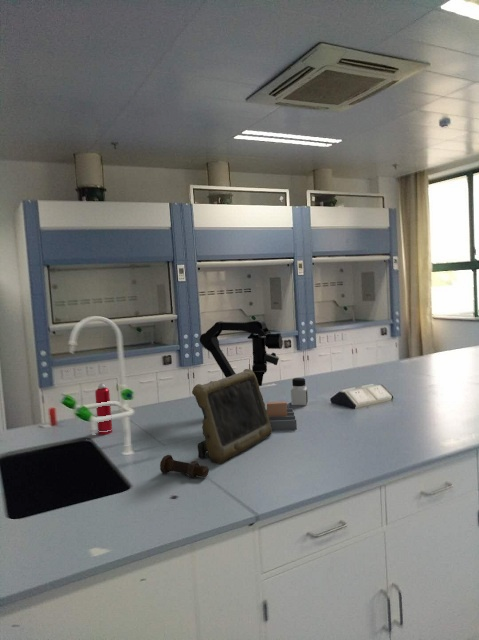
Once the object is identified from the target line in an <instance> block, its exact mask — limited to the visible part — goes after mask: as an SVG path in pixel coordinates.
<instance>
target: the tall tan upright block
mask: <svg viewBox="0 0 479 640" xmlns="http://www.w3.org/2000/svg"><path fill="white" fill-rule="evenodd" d="M287 409H288V404H287V401H284V400H283V401H266V410H267V415H268V417H276V416H287Z"/></svg>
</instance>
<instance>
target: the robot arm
mask: <svg viewBox="0 0 479 640" xmlns="http://www.w3.org/2000/svg"><path fill="white" fill-rule="evenodd" d="M223 331H229V332H230V331H233V332H234V331H237V332H238V331H239V332H246V333H249V335H248V336H247V339H248V340H250V339H251V342H252V343H251V344H252V365H251V368H252V369H251V370H252V371H253V372H254V374H255V376H256V378H257V380H258V384H259V387H262V385H263V380H264V375H265V374H266V373H267V371H268V367H267V365H268V363H269V364H273V365H274V366H277V365H278V362H279V359H280V358H279V356H277V354H276V353H275V352H272V353H267V350H266V348H267V349H268V350H269V349H271V350H282V348H283V344H284V340H283V337H282V334H281V332H277V333H272V332H271V331H270V329H269V328H268V327H267V324H266V322H265V320H263V319H258V320H257V319H256V320H252V321H246V322H245V321H216V322H215V323H214V324H213V325H212V327H210V328H209V329H208V330H207V331H206V332H204V333H202V334H200V336H199V343H200V344H201V346H202V347H203V348H204V349H205V350H207V351H208V352H209V353H210V355H212V357H213V359H214V361H215V363H216V364H217V366H218V367H219V368H220V370H221V372H222V374H223V375H224V378H226V377H230V376H232V375H234V374H237V373H236V372H235V370H234V369H233V367H232V366H231V364H230V362H229V360H228V358H227V357H226V356H225V354H224V353H223V350H221V347H220V342H219V339H218V337H219V336H220V335H221V334H222V332H223Z"/></svg>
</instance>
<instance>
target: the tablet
mask: <svg viewBox="0 0 479 640" xmlns="http://www.w3.org/2000/svg"><path fill="white" fill-rule="evenodd" d="M191 394H192V396H194V397H195V400H196V403H197V405H198V407H199V408H200V410H201V412H202V415H203V419H202V426H201V429H202V435H203V437H204V440H202V441H200V442H198V443H197V446H196V447H197V453H198V455H197V458H198V459H204V458H206V456H207V454H208V456H209V457H208V458H209V459H210V461H211V463H213V464H215V465H216V464H217V465H218V464H220V465H221V464H222V463H224V462H226V461H227V460H228V459H231V458H232V457H234V456H236V455H238V454H240V453H241V452H244V451H245V450H246V449H248V448H249V447H251V446H253V445H255V444H256V443H258V442H261V441H262V440H264V439H266V438H267V437H270V436H271V435H272V432H273V430H272V429H271V425H270V421H269V418H268V415H267V411H266V410H267V408H266V406H265V405H266V404H265V401H264V398H263V394H262V392H261V390H260V386H259V384H258V380H257V378H256V376H255V374H254V372H253V371H252V369H250V368H244V370H243V371H242V372H238V373H236V374H234V375H232V376H230V377H223V378H221V379H218V380H213V381H212V380H210V381H209V382H206V383H204V384H201V383H198V384H196V385H194V387H193V388H192V391H191Z"/></svg>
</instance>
